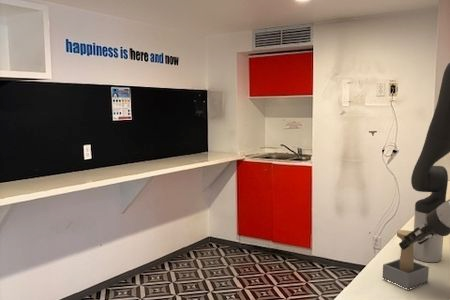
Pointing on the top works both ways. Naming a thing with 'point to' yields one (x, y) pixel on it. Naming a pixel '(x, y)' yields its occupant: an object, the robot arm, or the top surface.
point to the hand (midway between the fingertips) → (409, 244)
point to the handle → (406, 254)
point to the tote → (405, 274)
